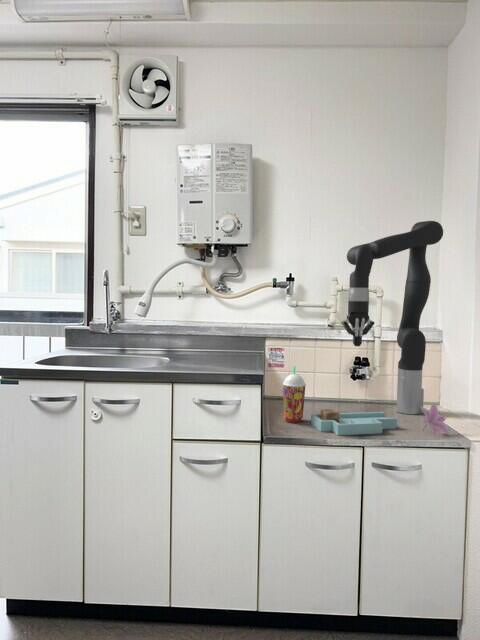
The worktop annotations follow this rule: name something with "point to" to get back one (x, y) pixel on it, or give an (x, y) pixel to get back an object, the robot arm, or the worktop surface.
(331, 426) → the box
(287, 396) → the smoothie
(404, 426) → the worktop surface
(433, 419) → the lily
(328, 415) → the walnut block
